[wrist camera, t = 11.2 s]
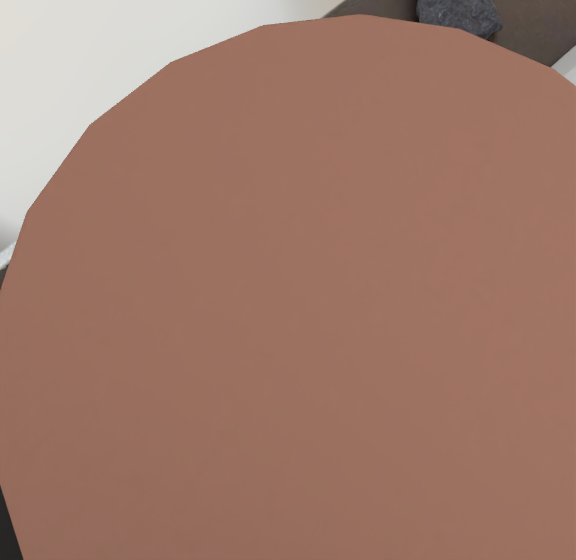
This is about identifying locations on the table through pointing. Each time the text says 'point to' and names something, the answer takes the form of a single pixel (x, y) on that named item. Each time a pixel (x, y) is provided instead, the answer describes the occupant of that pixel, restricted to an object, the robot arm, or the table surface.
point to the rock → (461, 15)
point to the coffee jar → (303, 309)
